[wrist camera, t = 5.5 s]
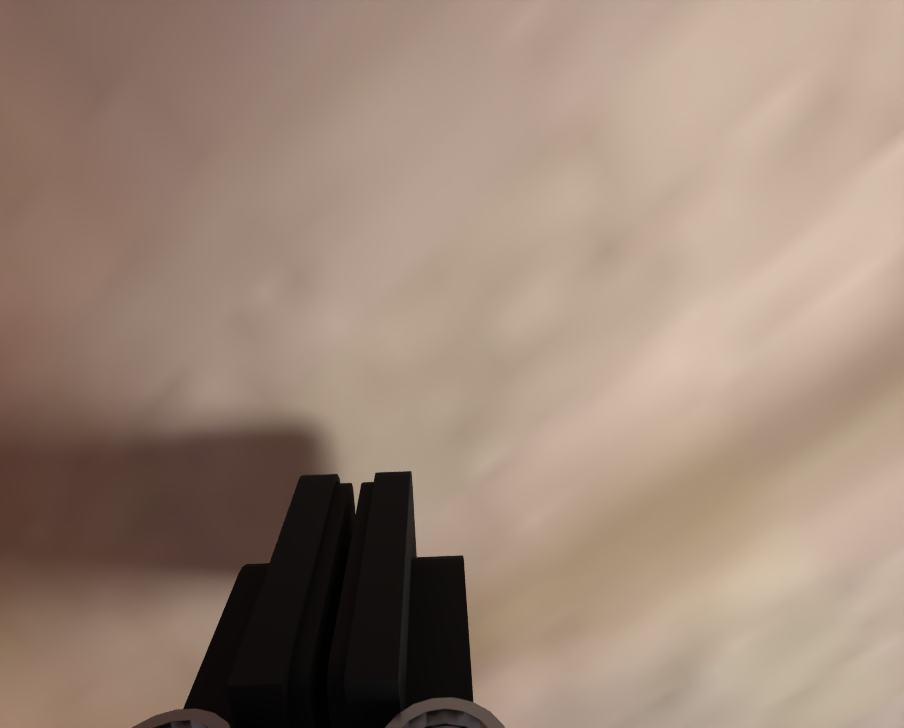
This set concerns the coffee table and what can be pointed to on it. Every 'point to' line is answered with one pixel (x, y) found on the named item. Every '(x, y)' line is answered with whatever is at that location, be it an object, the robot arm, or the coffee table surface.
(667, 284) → the coffee table surface
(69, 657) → the coffee table surface
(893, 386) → the coffee table surface
